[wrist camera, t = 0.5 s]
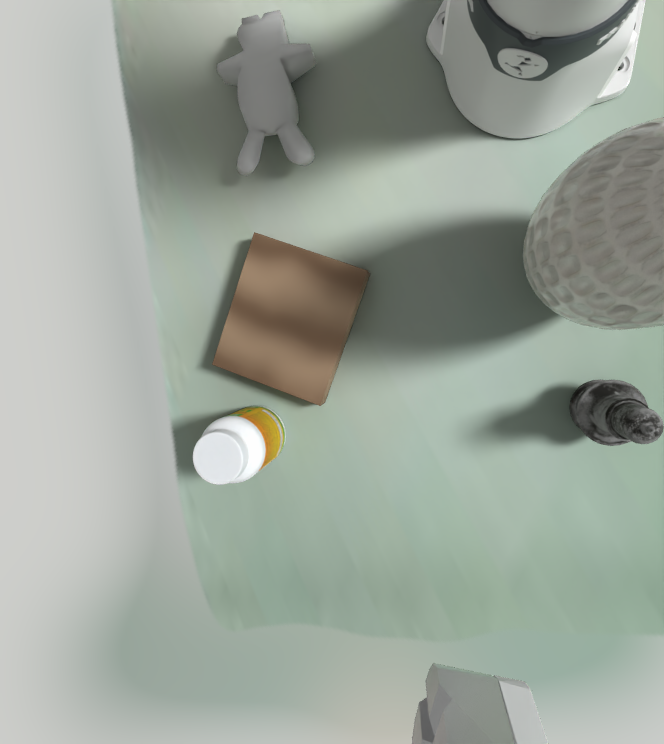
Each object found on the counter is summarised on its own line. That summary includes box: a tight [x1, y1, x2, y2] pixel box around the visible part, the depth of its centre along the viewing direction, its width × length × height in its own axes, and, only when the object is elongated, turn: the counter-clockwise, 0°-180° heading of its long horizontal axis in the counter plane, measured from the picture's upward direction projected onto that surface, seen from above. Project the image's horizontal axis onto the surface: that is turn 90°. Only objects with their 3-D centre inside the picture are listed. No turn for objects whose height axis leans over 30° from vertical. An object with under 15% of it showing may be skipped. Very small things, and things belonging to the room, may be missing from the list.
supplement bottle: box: [193, 406, 286, 485], centre depth 50 cm, size 6×6×11 cm
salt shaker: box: [570, 380, 663, 446], centre depth 44 cm, size 6×6×12 cm
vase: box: [523, 117, 664, 330], centre depth 35 cm, size 13×13×28 cm
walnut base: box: [212, 232, 370, 406], centre depth 53 cm, size 14×12×2 cm
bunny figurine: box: [217, 10, 316, 176], centre depth 51 cm, size 10×5×15 cm
